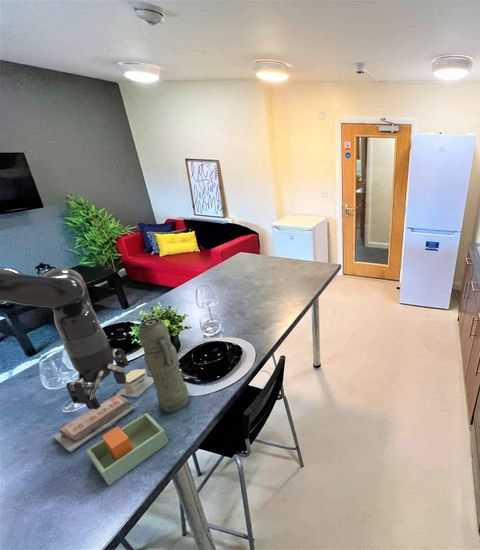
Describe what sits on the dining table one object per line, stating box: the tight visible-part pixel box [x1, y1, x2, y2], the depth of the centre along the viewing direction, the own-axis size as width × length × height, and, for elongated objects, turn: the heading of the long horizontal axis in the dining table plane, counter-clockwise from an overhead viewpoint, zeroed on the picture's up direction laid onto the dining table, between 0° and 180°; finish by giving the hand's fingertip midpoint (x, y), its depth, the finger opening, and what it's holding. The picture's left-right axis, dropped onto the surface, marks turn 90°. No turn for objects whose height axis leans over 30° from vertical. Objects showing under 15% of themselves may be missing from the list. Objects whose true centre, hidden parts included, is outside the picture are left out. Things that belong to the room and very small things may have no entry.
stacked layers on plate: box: [116, 368, 154, 398], centre depth 111 cm, size 10×9×6 cm
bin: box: [85, 412, 169, 486], centre depth 88 cm, size 16×12×6 cm
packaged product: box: [53, 393, 135, 453], centre depth 96 cm, size 18×5×10 cm
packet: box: [101, 425, 133, 461], centre depth 85 cm, size 4×7×8 cm, turn 58°
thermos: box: [137, 318, 190, 413], centre depth 99 cm, size 9×12×35 cm
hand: (109, 395), depth 78 cm, fingers open, 8 cm apart
